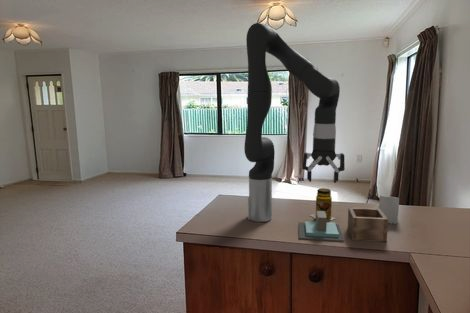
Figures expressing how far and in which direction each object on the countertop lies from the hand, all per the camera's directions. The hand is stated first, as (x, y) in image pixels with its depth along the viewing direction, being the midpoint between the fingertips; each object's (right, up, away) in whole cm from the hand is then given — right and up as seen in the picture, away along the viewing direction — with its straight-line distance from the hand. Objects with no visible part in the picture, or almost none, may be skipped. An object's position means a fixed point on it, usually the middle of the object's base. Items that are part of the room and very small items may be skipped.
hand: (322, 181), depth 116 cm
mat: (0, -19, +3) cm, 19 cm away
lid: (0, -18, +3) cm, 18 cm away
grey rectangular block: (+29, -17, +13) cm, 36 cm away
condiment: (+5, -16, +18) cm, 25 cm away
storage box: (+16, -19, 0) cm, 24 cm away
